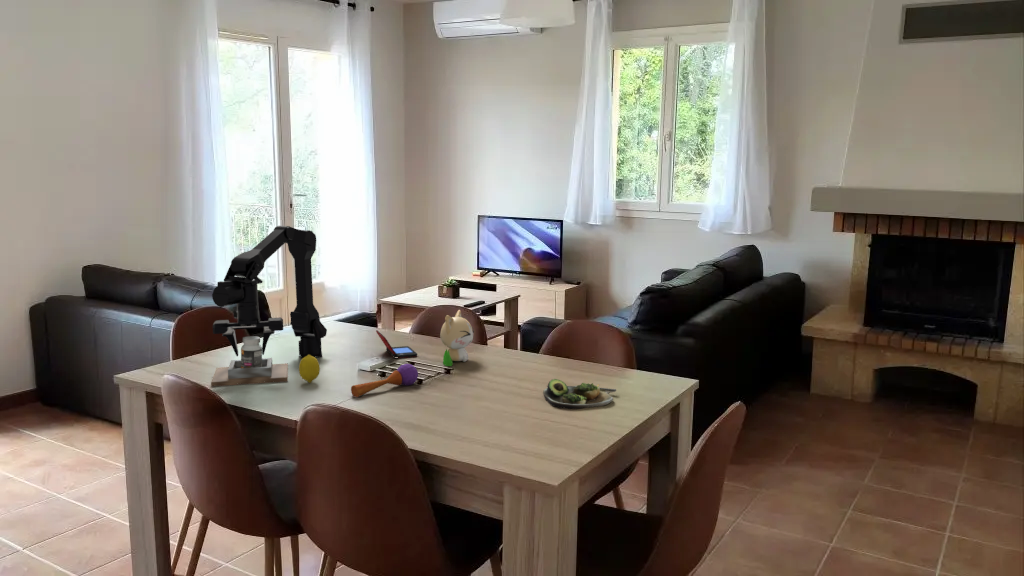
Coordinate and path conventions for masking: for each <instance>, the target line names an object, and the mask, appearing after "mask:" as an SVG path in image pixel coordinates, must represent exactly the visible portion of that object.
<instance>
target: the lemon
mask: <svg viewBox="0 0 1024 576" xmlns="http://www.w3.org/2000/svg"><path fill="white" fill-rule="evenodd" d="M320 367H321V366H320V363H319V360H318V359H317V357H313V356H311V355H307V356H306V357H304V358H301V360H300V361H299V366H298V372H299V376H300V377H301V379H302V380H303V381H306V382H307V383H309V384H311V383H312V382H313V381H314V380H316V379H317V378H318V377H319V375H320V371H321V370H320V369H321V368H320Z"/></svg>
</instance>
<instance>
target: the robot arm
mask: <svg viewBox="0 0 1024 576" xmlns="http://www.w3.org/2000/svg"><path fill="white" fill-rule="evenodd" d="M285 244H287V248H288V251H289V253H290V255H291V256H292V258H293V259H294V262H293V263H294V278H295V280H294V281H295V295H296V296H295V297H296V306H295V308H294V310H293V311H290V313H289V317H290V322H289V323H290V325H291V328H292V331H293V334H294V337H295V338H296V337H299V338H300V340H298V355H299V356H300V359H303V358H304V357H306V356H307V355H311V356H313V357H315V358H322V357H323V351H322V339H323V338H325V337H326V336H327V332H328V329H327V328H326V326H325V325H324V324H323V323H322V322H321V318H320V313H319V311H318V309H317V308H316V307H315V305H314V292H313V291H314V289H313V275H312V273H313V271H312V270H313V269H312V257H313V256H314V254H315V253H316V250H317V249H316V248H317V235H316V234H315V233H314V231H312V230H310V229H308V230H307V229H305V230H304V229H298V228H294V227H292V226H290V225H277V226H275V227H274V228H273V230H272V231H271V232H270V233H269V234H268V235H267V236H266V237H264V238H263V239H262V240H261V241H260V242H259V243H257V244H256V246H254V247H253V248H252V249H250V250H248V251H244V252H241V253H240V254H238V255H236V256H234V257H233V258H232V260H231V261H230V265H229V267H228V270H227V271H226V274H225V276H224V279H223V281H222V280H221V281H217V284H216V285H217V286H216V287H215V288H214V290H213V292H212V293H211V296H212V301H213V303H214V304H215V305H216V306H217V307H219V308H223V307H228V306H233V305H236V306H233V307H232V309H233V310H232V311H233V314H232V315H233V319H237V322H230V321H229V319H219V320H214V322H213V324H212V334H213V335H219V334H222V335H221V336H222V337H226V339H227V341H229V343H230V345H231V347H232V349H233V351H234V353H235V356H236V357H239V347H238V344H237V343H238V342H237V337H236V330H247V329H249V330H250V329H251V330H252V329H263V333H262V334H263V336H262V345H261V347H262V356H264V354H265V352H266V348H267V343H268V341H269V339H270V336H271V335H273V334H275V332H279V331H284V319H283V317H269V318H268V320H264V321H262V320H261V317H260V310H259V294H258V293H259V292H258V291H259V290H258V285H259V284H263V280H262V279H260V278H259V275H260V274H261V272H262V271H263V269H264V268H265V262H266V261H267V260H268V259H269V258H270V257H271V256H273V255H274V254H275V253H276V252H277V251H278V250H279V249H280V248H281V247H283V245H285Z"/></svg>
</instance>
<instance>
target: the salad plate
mask: <svg viewBox="0 0 1024 576" xmlns="http://www.w3.org/2000/svg"><path fill="white" fill-rule="evenodd" d="M599 386H600V384H597V385H594V383H585V382H581V384H578V385H567V384H566V383H565V382H564V381H562V380H560V379H557V378H554V379H551V380H550V381H548V384H547V385H546V387H547V388H544V390H543V392H542V394H543V397H544V399H545V400H546V401H547V403H548V404H550V406H553V407H556V408H557V409H558V408H559V409H566V410H571V409H572V410H578V409H589V408H596V407H601V406H607V405H609V404H610V403H611V402H613V401H614V398H613V396H612V395H610V393H615V392H617V389H616V388H608V387H599ZM591 401H599V402H595V403H586V402H591Z"/></svg>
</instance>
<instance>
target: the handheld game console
mask: <svg viewBox="0 0 1024 576" xmlns="http://www.w3.org/2000/svg"><path fill="white" fill-rule="evenodd" d="M375 332H376V334H377V335H378V337H379V338H380V340H381V341H382V342H383V344H384V345H385V347H386V349H385V350H386V352H387V353H388V354H390V355H391V356H392V357H393V356H394V357H398V358H397V359H407V358H408V359H409V358H415V357H418V353H417V352H416V351H415V350H413V348H411V347H410V346H408V345H406V346H393V347H392V345H391V344H390V342H389V340H388V339H387V338H386V337H385V335H384V334H382V333H381V332H380V331H379V330H377V329H376V330H375ZM394 357H393V358H394Z"/></svg>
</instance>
